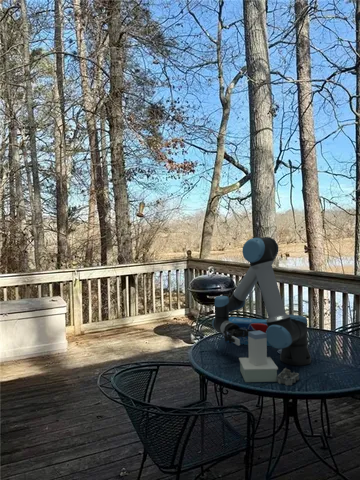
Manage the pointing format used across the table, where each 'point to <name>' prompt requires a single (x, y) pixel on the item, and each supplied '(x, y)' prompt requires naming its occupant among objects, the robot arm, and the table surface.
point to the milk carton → (257, 347)
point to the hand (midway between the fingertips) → (252, 340)
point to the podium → (258, 371)
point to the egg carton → (287, 377)
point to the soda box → (249, 327)
